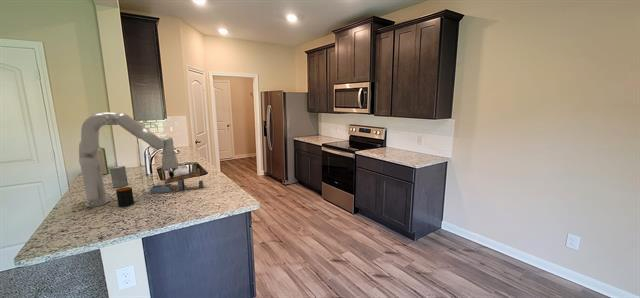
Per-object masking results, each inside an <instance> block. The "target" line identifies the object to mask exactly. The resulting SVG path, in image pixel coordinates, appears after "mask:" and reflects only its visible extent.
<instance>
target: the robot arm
mask: <svg viewBox="0 0 640 298" xmlns="http://www.w3.org/2000/svg"><path fill="white" fill-rule="evenodd" d="M114 125H115V126H120V127H121V128H123V130H125V131H127V132H128V133H130V135H133V136H135V138H138V139H140V140H141V141H143V142H145V143H146V144H147V145H149V147H150V148H153V149H154V150H162V152H161V153H160V155H162V156H161V168H162V171H166V172H167V173H168V176H169V177H170V178H171V177H173V176H175V171H176V170H179V169H180V168H179V162H178V158H177V156H176V154H175V146H174V139H173V137H169V136H168V137H167V136H165V137H159V136H157V135H156V134H154V133H153V132H151V131H150V130H149V129H148V128H146V127H145V126H143V125H142V124H141V123H139V122H138V121H137V120H135V119H134V118H133V117H131V116H130V115H129V114H127V113H125V112H94V113H93V114H91V115H90V116H89V117H87V118H86V119H85V120H84V121H83V122H82V125H81V132H80V137H81V138H80V141H79V143H78V161H79V162H78V163H79V165H80V170H81V176H82V180H83V186H84V191H85V195H86V201H87V202H85V203H84V207H87V208H92V207H98V206H99V207H100V206H102V205H105V204H108V203H109V202H110V198H108V197H107V196H106V190H105V183H104V179H103V175H102V172H101V163H100V161H99V159H98V150H99V147H100V140H99V139H100V137H99V135H100V129H101V128H102V127H103V126H114Z"/></svg>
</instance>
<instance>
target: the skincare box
mask: <svg viewBox="0 0 640 298" xmlns="http://www.w3.org/2000/svg"><path fill="white" fill-rule="evenodd" d="M109 174H110V177H111V182H112V188H113V189H116V188H117V189H120V188H125V187H127V186H128V185H129V181H128V176H127V170H126V166H125V165H116V166H113V167H110V168H109Z"/></svg>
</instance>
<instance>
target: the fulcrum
mask: <svg viewBox="0 0 640 298" xmlns="http://www.w3.org/2000/svg"><path fill="white" fill-rule="evenodd" d="M187 186H189V185H188V184H187V185H186V184H185V179H184V180H177V189H175V193H179V192H178V191H183V192H186V190H187V188H188V187H187ZM185 189H186V190H185Z"/></svg>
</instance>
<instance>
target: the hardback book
mask: <svg viewBox="0 0 640 298" xmlns="http://www.w3.org/2000/svg"><path fill="white" fill-rule="evenodd" d="M106 154H107V153H106V150H105V148H104V147H101V146H99V150H98V159H99V161H100V163H101V172H102V176H103V175H109V174H110V171H109V167H108V160H107V155H106Z"/></svg>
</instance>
